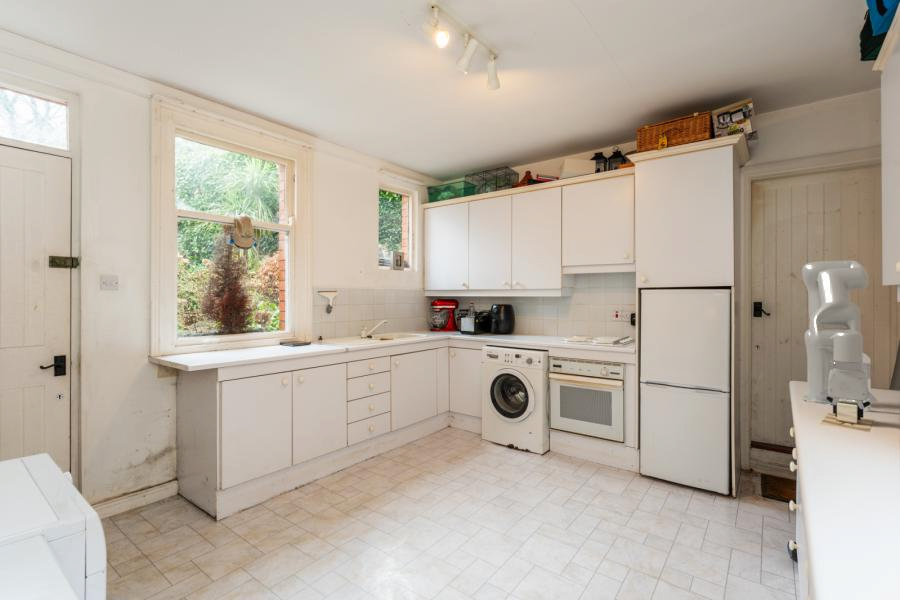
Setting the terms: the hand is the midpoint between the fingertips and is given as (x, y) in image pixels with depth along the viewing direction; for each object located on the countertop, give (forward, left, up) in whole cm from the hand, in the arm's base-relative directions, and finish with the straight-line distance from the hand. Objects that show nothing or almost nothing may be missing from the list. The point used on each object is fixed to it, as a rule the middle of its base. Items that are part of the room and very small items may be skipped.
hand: (847, 417), depth 148 cm
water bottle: (-22, +9, -3) cm, 24 cm away
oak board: (+1, 0, -2) cm, 2 cm away
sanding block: (0, 0, -1) cm, 1 cm away
